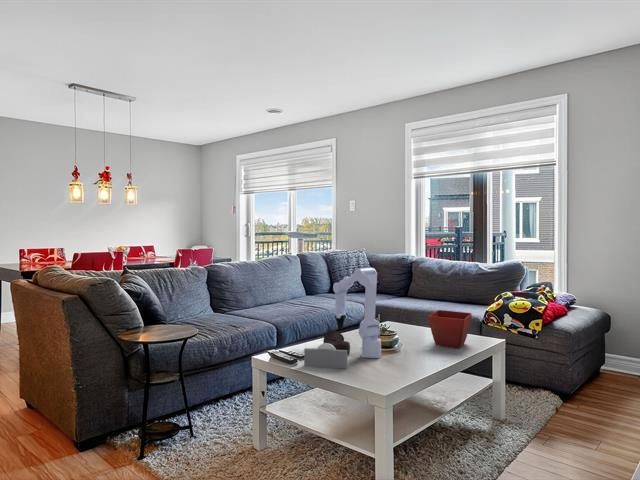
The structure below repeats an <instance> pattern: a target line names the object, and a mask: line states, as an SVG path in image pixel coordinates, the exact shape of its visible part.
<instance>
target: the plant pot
mask: <svg viewBox="0 0 640 480" xmlns="http://www.w3.org/2000/svg"><path fill="white" fill-rule="evenodd" d="M472 314H473V313H471V312H466V311H465V312H464V311H453V310H442V309H437V310H436V311H434V312H432V313H431V314H429V315H428V320H429V321H428V322H429V326H430V327H429V328H430V331H431V332H430V333H431V334H432V337H433V341H434V343H435V346H436V347H444V348H445V347H446V348H452V349H460V348H462V346H464V344H465V342H466V341H467V340H466V339H467V338H468V334H469V330H470V327H471V320H472Z"/></svg>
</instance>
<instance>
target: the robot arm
mask: <svg viewBox="0 0 640 480" xmlns="http://www.w3.org/2000/svg"><path fill="white" fill-rule="evenodd" d="M355 282H358V283H359V284H360V285H361V286H364V288H365V292H364V293H365V294H364V295H365V296H364V297H365V298H364V317H363V319H362V320H361V322H360V323H359V327H358V335H359V337H360V338H361V339H362V341H361V342H362V344H361V346H362V347H361V349H362V350H361V351H362V352H361V355H360V358H370V359H380V358H381V356H382V339H381V338H379V336H380V335H381V329H380V327H381V326H380V322H379V321H378V320H377V319H376V304H377V303H376V302H377V284H378V272H377V270H376V269H375V268H374V267H365V268H357V269H355V270H354V271H353V273H352V274H351V275H350V276H344V277H343V279H341V280H339V282H334V283H333V287H332V291H333V292H334V294H335V298H334V299H335V305H334V308H335V311H333V314H334V315H335V316H334V319H335V321H336V324H337V328H338V330H343V328H344V324H345V319H346V317H347V311H346V309H347V308H346V307H347V304H346V302H347V299H346V297H347V295H348V294H347V293H348V291H349V289H350V288H352V286H354V283H355Z"/></svg>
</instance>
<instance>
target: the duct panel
mask: <svg viewBox="0 0 640 480" xmlns="http://www.w3.org/2000/svg"><path fill="white" fill-rule="evenodd" d="M323 343H324V342H323ZM323 343H321V344H319V346H317V348H312V347H311V348H310V347H305V348H304V350H303V351H304V352H303V360H304V361H303V362H304V363H303V364H304V365H303V366H304V367H312V368H313V367H314V368H315V367H316V368H327V369H330V368H331V369H345V370H347V369H348V355H347V350H336V349H335V347H334V346H333V345H331V344H329V343H324V344H323Z"/></svg>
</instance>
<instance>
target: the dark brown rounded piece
mask: <svg viewBox="0 0 640 480" xmlns="http://www.w3.org/2000/svg"><path fill="white" fill-rule="evenodd" d="M324 343H329V344H331V345H333V346H334V347H335V349H336V350H347V356H348V355H350V354H351V344H350V342H349V341H345V338H344V335H343V334H342V332H339V331H337V330H334V331H333V330H331V331H328V332H326V333H325V334H324V335H323V342H322V344H324Z"/></svg>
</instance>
